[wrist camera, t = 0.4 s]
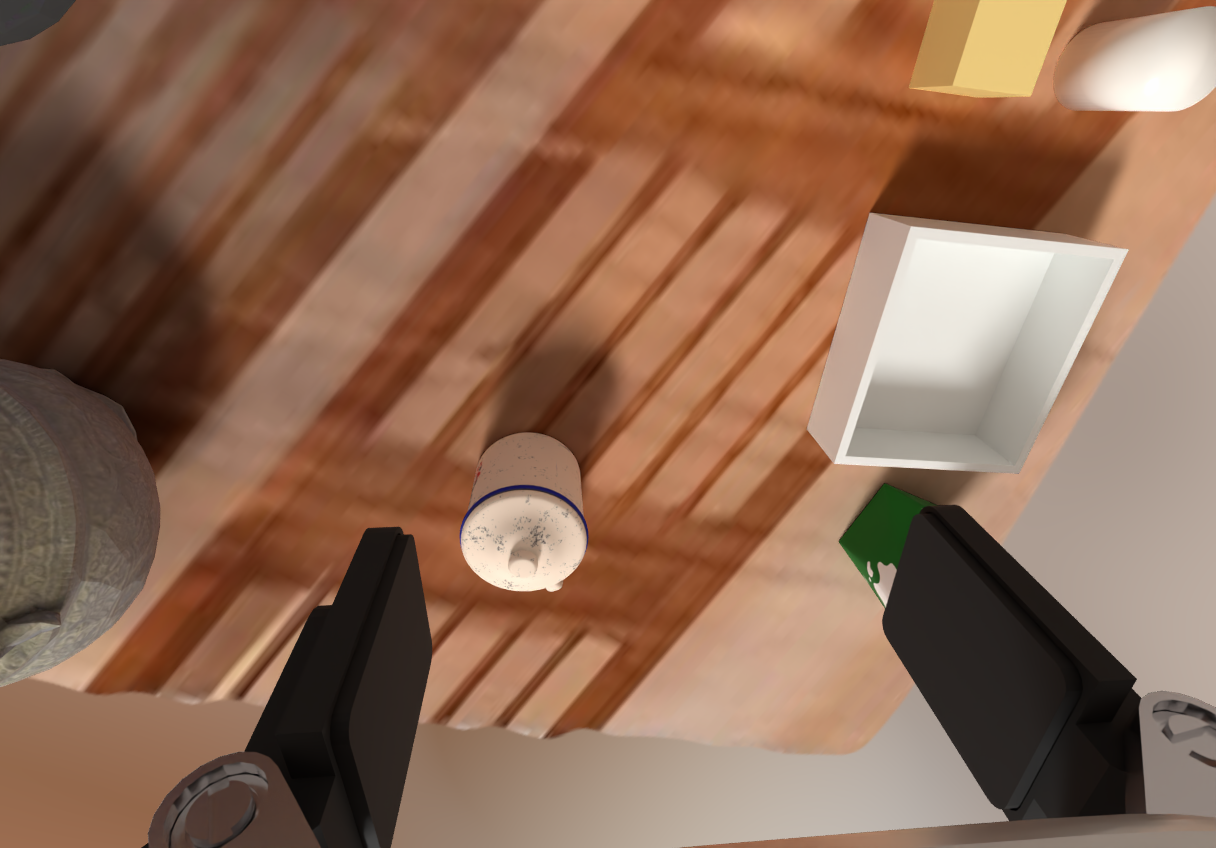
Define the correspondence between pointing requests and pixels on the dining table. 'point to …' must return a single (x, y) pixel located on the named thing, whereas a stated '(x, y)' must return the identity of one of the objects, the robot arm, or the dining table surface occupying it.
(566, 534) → the teacup with lid
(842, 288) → the dining table surface
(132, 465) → the pot
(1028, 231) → the tote
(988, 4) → the mustard block
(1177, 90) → the white canister
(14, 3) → the globe
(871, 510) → the milk carton
